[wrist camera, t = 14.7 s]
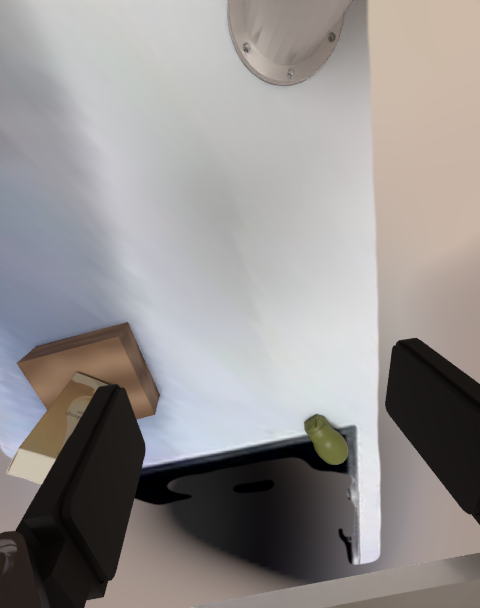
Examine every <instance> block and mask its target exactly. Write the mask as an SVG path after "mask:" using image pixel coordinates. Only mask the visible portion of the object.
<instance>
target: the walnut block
mask: <svg viewBox="0 0 480 608" xmlns="http://www.w3.org/2000/svg"><path fill="white" fill-rule="evenodd" d="M17 364H18V366H19V368H20V369H21V371H22V372H23V374H24V375H25V377H26V378H27V380H28V381H29V383H30V384H31V386H32V387H33V389H34V390H35V392H36V393H37V395H38V396H39V398H40V400H41V401H42V403H43V404H44V406H45V407H46V409H47V410H48V409H49V408H50V406H51V405H52V404H53V402H54V401H55V400H56V398H57V397H58V396H59V394H60V393H61V392H62V390H63V389H64V388H65V386H66V385H67V384H68V382H69V381H70V380H71V378H72V377H73V376H74V375H75V373H80V374H82V375H85V376H88V377H90V378H93V379H95V380H98V381H100V382H103V383H105V384H107V385H112V384H118V385H119V386H120V388H122V387H124V388H125V390H126V392H127V395H128V398H129V400H130V403H131V406H132V409H133V412H134V414H135V417H136V419H140V418H144V417H147V416H151V415H155V412H156V408H157V404H158V400H159V396H160V394H159V392H158V390H157V387H156V385H155V383H154V381H153V378H152V376H151V374H150V372H149V369H148V367H147V365H146V363H145V360H144V358H143V356H142V354H141V351H140V349H139V347H138V345H137V342H136V340H135V338H134V335H133V333H132V331H131V329H130V326H129V324H128V322H127V323H123V324H119V325H116V326H112V327H108V328H104V329H100V330H97V331H93V332H89V333H85V334H81V335H78V336H74V337H70V338H66V339H62V340H59V341H55V342H51V343H47V344H43V345H40V346H36V347H35V348H34V349H33V350H32V351H30V352H29V353H28V354H27V355H26V356H25V357H23V358H22V359H21V360H20V361H19V362H18V363H17Z"/></svg>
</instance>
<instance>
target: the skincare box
mask: <svg viewBox="0 0 480 608" xmlns="http://www.w3.org/2000/svg"><path fill="white" fill-rule="evenodd" d="M106 385H107V384H105V383H103V382H100V381H98V380H95V379H93V378H90V377H88V376H85V375H82V374H80V373H75V375H74V376H73V377H72V378H71V380H70V381H69V382H68V384H67V385H66V386H65V388H64V389H63V390H62V392H61V393H60V394H59V396H58V397H57V398H56V400H55V401H54V402H53V404H52V405H51V406H50V408H49V409H48V410H47V412H46V413H45V414H44V416H43V417H42V418H41V419H40V421H39V422H38V423H37V425H36V426H35V427H34V429H33V430H32V431H31V433H30V434H29V435H28V437H27V438H26V439H25V441H24V442H23V443H22V445H21V446H20V447H19V449H18V450H17V452H16V454H15V455H14V457H13V459H12V461H11V463H10V465H9V467H8V469H7V471H6V473H7V474H9V475H13V476H16V477H20V478H23V479H27V480H29V481H32V482H35V483H39V484H42V483H43V481H44V480H45V478H46V476H47V474H48V473H49V471H50V469H51V467H52V465H53V464H54V462H55V460H56V458H57V457H58V455H59V453H60V451H61V450H62V448H63V446H64V444H65V443H66V441H67V439H68V438H69V436H70V435H71V434H72V432H73V430H74V429H75V427H76V425H77V423H78V422H79V420H80V418H81V416H82V415H83V413H84V411H85V409H86V407H87V406H88V404H89V402H90V400H91V399H92V397H93V395H94V393H95V391H96V390H97V388H98V387H100V386H106Z"/></svg>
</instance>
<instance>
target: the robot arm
mask: <svg viewBox="0 0 480 608" xmlns="http://www.w3.org/2000/svg"><path fill="white" fill-rule="evenodd" d="M352 1H353V0H228V13H227V14H228V23H229V30H230V33H231V37H232V41H233V44H234V46H235V48H236V50H237V53H238V55H239V56H240V58H241V59H242V61H243V62H244V64H245V65H246V66H247V67H248V68H249V69H250V70H251V71H252V73H254V74H255V75H256V76H258V77H259V78H261V79H262V80H264V81H267V82H269V83H272V84H277V85H292V84H295V83H299V82H302V81H304V80H305V79H307V78H309V77H310V76H312V75H313V74H314V73H315V72H316V71H317V70H319V69H320V68H321V66H322V65H323V64H324V63H325V62H326V61H327V59H328V57H329V56H330V54H331V53H332V51H333V50H334V48H335V46H336V43H337V41H338V39H339V36H340V32H341V29H342V25H343V19H344V12H345V10H346V9H347V7H348V6H349V5H350V3H351V2H352ZM328 39H330V42H329V40H328ZM244 49H246V50H247V51H248V53H245V52H244V51H243V50H244ZM288 74H290V75H291V78H289V77H288ZM385 406H386V410H387V412H388V414H389V415H390V417H391V418H392V419H393V420H394V422H395V423H396V424H397V426H398V427H399V428H400V430H401V431H402V432H403V433H404V435H405V436H406V437H407V439H408V440H409V441H410V442H411V444H412V445H413V446H414V448H415V449H416V450H417V451H418V453H419V454H420V455H421V457H422V458H423V459H424V460H425V462H426V463H427V464H428V466H429V467H430V468H431V469H432V471H433V472H434V473H435V475H436V476H437V477H438V479H439V480H440V481H441V482H442V484H443V485H444V486H445V488H446V489H447V490H448V491H449V493H450V494H451V495H452V497H453V498H454V499H455V500H456V502H457V503H458V504H459V506H460V507H461V508H462V509H463V510H464V511H465V512H466V513H468V514H472V516H473V517H474V518H475V519H476V521H477V522H478V523H479V524H480V384H479V383H478V382H476V381H475V380H474V379H472V378H471V377H470V376H468V375H467V374H465V373H464V372H463V371H461V370H460V369H459V368H457V367H456V366H454V365H453V364H452V363H451V362H449V361H448V360H446V359H445V358H444V357H442V356H441V355H440V354H438V353H437V352H436V351H434V350H433V349H432V348H430V347H429V346H428V345H426V344H425V343H424V342H422V341H421V340H419V339H417V338H411V339H406V340H399V341H398V342H397V343H396V345H395V346H393V348H392V354H391V362H390V370H389V378H388V386H387V394H386V401H385ZM144 457H145V442H144V439H143V437H142V434H141V431H140V428H139V425H138V423H137V420H136V417H135V414H134V412H133V409H132V406H131V403H130V400H129V398H128V395H127V392H126V390H125V388H124V387H122V388H120V386H119V385H118V384H112V385H106V386H100V387H98V388H97V390H96V391H95V393H94V395H93V397H92V399H91V400H90V402H89V404H88V406H87V407H86V409H85V411H84V413H83V415H82V416H81V418H80V420H79V422H78V423H77V425H76V427H75V429H74V430H73V432H72V434H71V435H70V436H69V438H68V439H67V441H66V443H65V444H64V446H63V448H62V450H61V451H60V453H59V455H58V457H57V458H56V460H55V462H54V464H53V465H52V467H51V469H50V471H49V473H48V474H47V476H46V478H45V480H44V481H43V483H42V485H41V487H40V488H39V490H38V492H37V494H36V496H35V497H34V499H33V501H32V502H31V504H30V506H29V508H28V509H27V511H26V513H25V515H24V517H23V518H22V520H21V522H20V524H19V525H18V527H17V529H16V531H8V532H3V533H0V608H84V606H85V603H86V600H91V599H96V598H102V597H104V594H105V591H106V587H107V583H108V581H110V580H112V579H113V577H114V576H115V573H116V570H117V565H118V562H119V558H120V554H121V550H122V546H123V542H124V537H125V533H126V529H127V525H128V521H129V517H130V513H131V509H132V505H133V501H134V497H135V493H136V489H137V485H138V481H139V477H140V473H141V469H142V465H143V461H144ZM191 608H480V553H476V554H471V555H465V556H460V557H455V558H449V559H444V560H438V561H432V562H427V563H421V564H416V565H410V566H405V567H399V568H394V569H389V570H384V571H379V572H373V573H368V574H362V575H357V576H352V577H346V578H341V579H336V580H330V581H325V582H320V583H315V584H309V585H304V586H299V587H293V588H288V589H283V590H278V591H272V592H267V593H262V594H257V595H252V596H247V597H241V598H236V599H231V600H226V601H221V602H216V603H211V604H206V605H200V606H195V607H191Z"/></svg>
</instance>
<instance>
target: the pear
mask: <svg viewBox="0 0 480 608" xmlns="http://www.w3.org/2000/svg"><path fill="white" fill-rule="evenodd" d="M305 431H306V433H307V434H308V436H309V438H310V440H311V441H312V442H313V444H314V447H315V450H316V452H317V453H318V455H319V456H320V457H321V458H322V459H323V460H324V461H326V462H327V463H329V464H333V465H337V464H341V463H342V462H344V461H345V460H346V458H347V456H348V446H347V443H346V441H345V440H344V438H343V437H342V436H341V434H340V433H338V432H337V431H335V430H333V429H332V428H331V426H330V425H329V424H328V422H327V420H326V418H325V417H323V416H320V415H316V416H315V417H313V418H311V419H309V420H307V421H306V422H305Z"/></svg>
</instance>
